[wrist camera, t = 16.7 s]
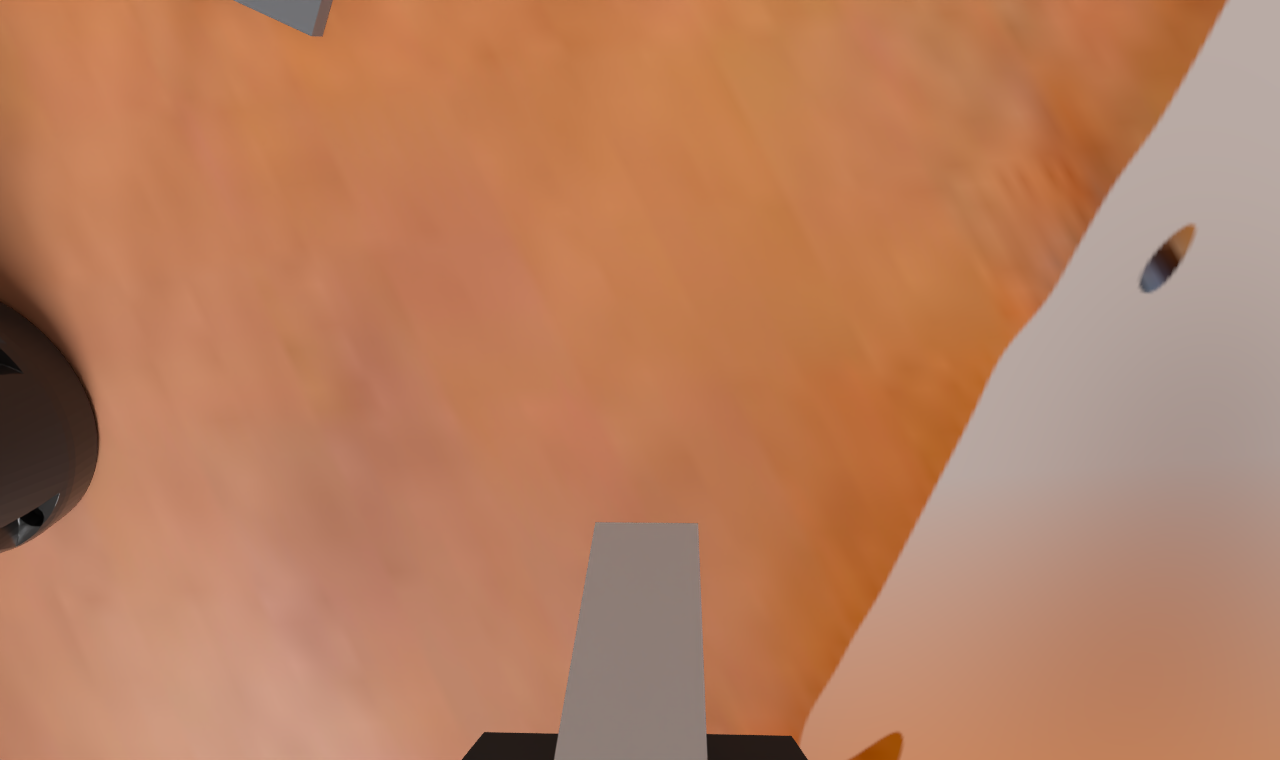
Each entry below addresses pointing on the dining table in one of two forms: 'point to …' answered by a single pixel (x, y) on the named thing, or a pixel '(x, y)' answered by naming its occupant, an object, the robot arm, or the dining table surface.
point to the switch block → (295, 13)
